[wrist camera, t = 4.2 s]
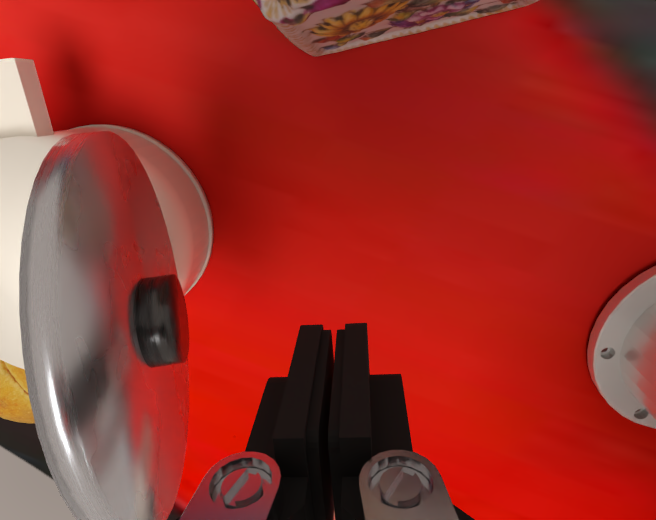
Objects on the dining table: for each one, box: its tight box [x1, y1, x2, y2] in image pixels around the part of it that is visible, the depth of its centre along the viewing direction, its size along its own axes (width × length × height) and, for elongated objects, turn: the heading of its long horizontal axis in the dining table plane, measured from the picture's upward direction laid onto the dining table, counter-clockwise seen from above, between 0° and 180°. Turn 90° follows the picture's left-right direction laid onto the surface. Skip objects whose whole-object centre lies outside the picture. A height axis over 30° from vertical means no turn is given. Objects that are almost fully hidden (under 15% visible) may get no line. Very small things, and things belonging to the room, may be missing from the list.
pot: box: [0, 58, 214, 370], centre depth 25 cm, size 12×18×8 cm, turn 5°
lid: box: [19, 131, 189, 520], centre depth 15 cm, size 12×12×2 cm
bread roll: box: [0, 360, 35, 423], centre depth 31 cm, size 8×9×4 cm
